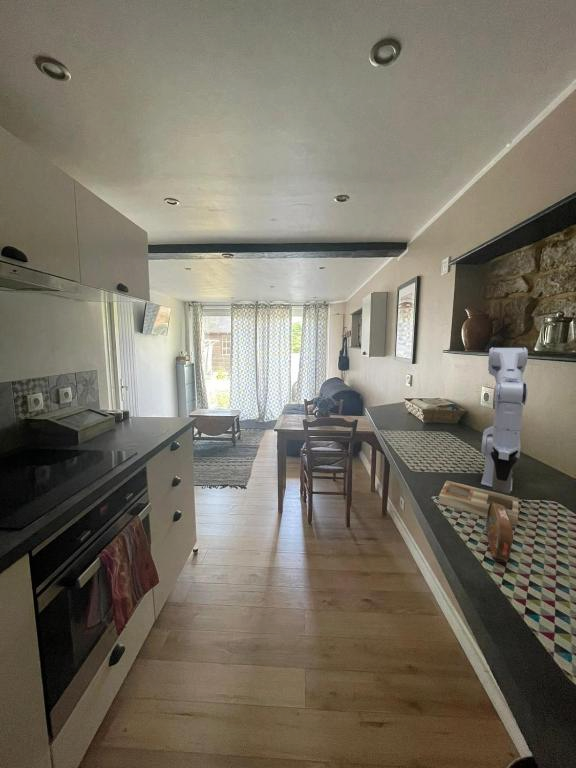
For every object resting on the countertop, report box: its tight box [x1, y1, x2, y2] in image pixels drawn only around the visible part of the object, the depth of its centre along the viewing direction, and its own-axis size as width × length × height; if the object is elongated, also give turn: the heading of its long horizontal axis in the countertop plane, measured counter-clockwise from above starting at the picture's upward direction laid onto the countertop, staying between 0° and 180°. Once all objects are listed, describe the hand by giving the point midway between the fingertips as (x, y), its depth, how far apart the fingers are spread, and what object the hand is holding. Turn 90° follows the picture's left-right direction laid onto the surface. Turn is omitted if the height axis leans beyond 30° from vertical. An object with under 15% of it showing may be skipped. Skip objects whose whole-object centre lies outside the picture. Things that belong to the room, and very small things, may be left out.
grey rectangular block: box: [491, 464, 514, 494], centre depth 81 cm, size 4×4×7 cm
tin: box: [485, 502, 514, 561], centre depth 68 cm, size 15×3×8 cm, turn 153°
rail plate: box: [438, 480, 519, 527], centre depth 85 cm, size 11×18×3 cm, turn 52°
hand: (502, 476), depth 81 cm, fingers closed on grey rectangular block, 4 cm apart
